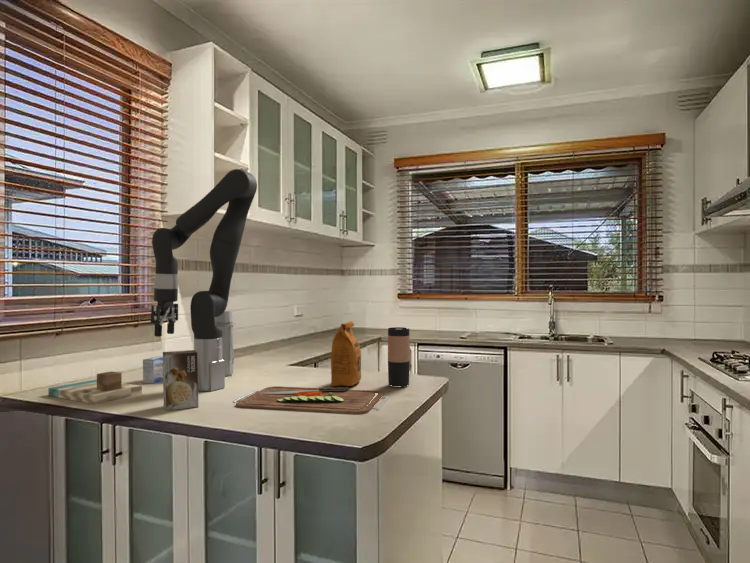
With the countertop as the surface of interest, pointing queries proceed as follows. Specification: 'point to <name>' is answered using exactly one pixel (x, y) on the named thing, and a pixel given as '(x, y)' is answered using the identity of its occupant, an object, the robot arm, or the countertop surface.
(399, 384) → the travel mug
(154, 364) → the medicine box
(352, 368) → the coffee package
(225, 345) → the water bottle
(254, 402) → the chopping board
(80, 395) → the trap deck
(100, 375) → the walnut block
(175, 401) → the coffee box
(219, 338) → the robot arm
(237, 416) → the countertop surface
